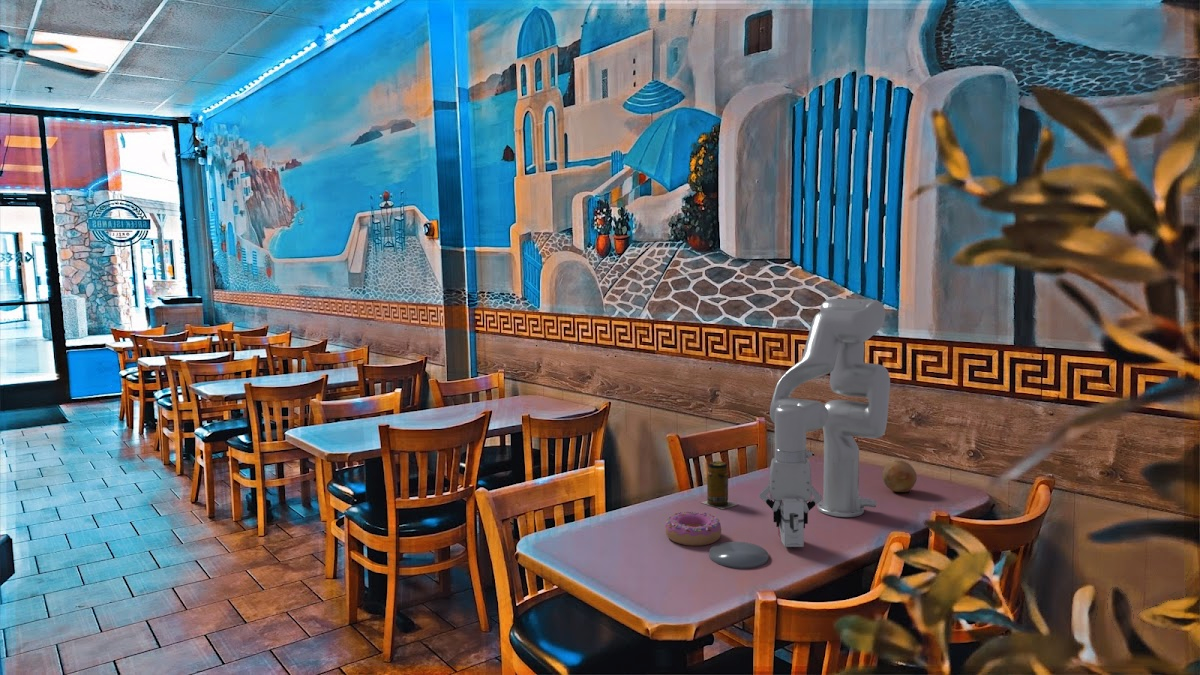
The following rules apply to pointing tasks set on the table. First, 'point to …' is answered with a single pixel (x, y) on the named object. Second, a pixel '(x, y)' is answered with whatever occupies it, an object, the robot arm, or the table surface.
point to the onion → (899, 476)
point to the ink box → (791, 522)
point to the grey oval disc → (738, 555)
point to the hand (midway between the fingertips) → (790, 524)
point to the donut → (693, 528)
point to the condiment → (718, 486)
